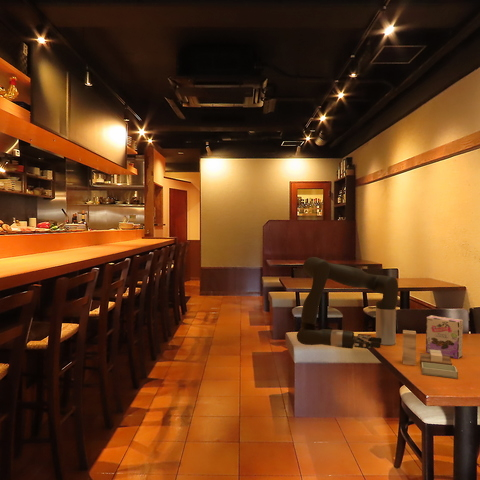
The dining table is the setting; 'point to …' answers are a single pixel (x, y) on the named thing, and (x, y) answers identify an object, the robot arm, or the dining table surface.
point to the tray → (439, 370)
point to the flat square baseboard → (427, 359)
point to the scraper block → (409, 347)
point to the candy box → (444, 336)
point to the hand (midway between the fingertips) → (381, 343)
